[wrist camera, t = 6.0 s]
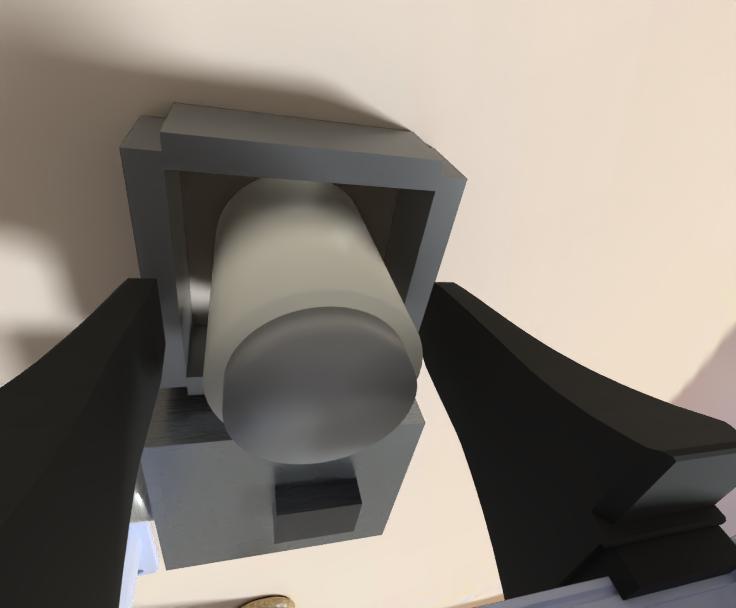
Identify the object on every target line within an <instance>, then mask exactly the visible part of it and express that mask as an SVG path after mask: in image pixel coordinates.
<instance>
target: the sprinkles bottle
mask: <svg viewBox="0 0 736 608" xmlns="http://www.w3.org/2000/svg"><path fill="white" fill-rule="evenodd" d="M241 608H295V603H294V602H293V601H291V600H290V599H288V598H284V597H268V598H263V599H259V600H255V601H252V602H249V603H248V604H246V605H245V606H243V607H241Z"/></svg>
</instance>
